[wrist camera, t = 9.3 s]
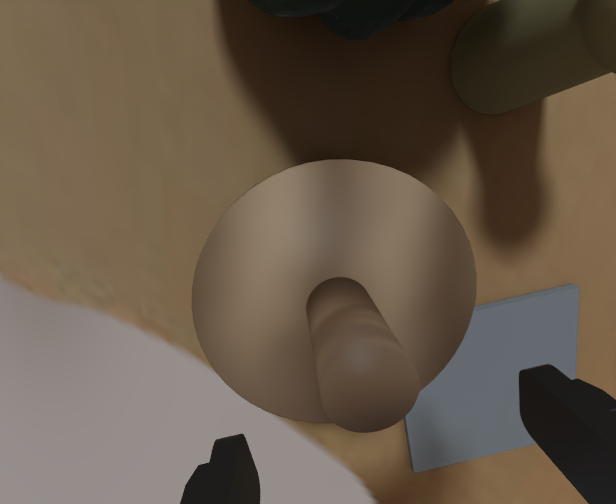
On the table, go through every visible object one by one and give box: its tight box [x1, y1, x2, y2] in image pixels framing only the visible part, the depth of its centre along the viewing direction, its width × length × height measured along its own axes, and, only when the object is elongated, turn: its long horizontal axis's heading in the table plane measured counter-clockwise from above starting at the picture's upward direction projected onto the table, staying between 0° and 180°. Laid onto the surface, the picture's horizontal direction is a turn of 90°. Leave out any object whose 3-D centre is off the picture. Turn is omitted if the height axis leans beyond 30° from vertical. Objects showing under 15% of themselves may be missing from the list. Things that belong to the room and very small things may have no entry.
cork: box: [450, 0, 616, 115], centre depth 15 cm, size 6×6×11 cm
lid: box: [192, 159, 476, 433], centre depth 14 cm, size 14×14×7 cm
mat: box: [404, 284, 579, 473], centre depth 26 cm, size 14×14×1 cm
